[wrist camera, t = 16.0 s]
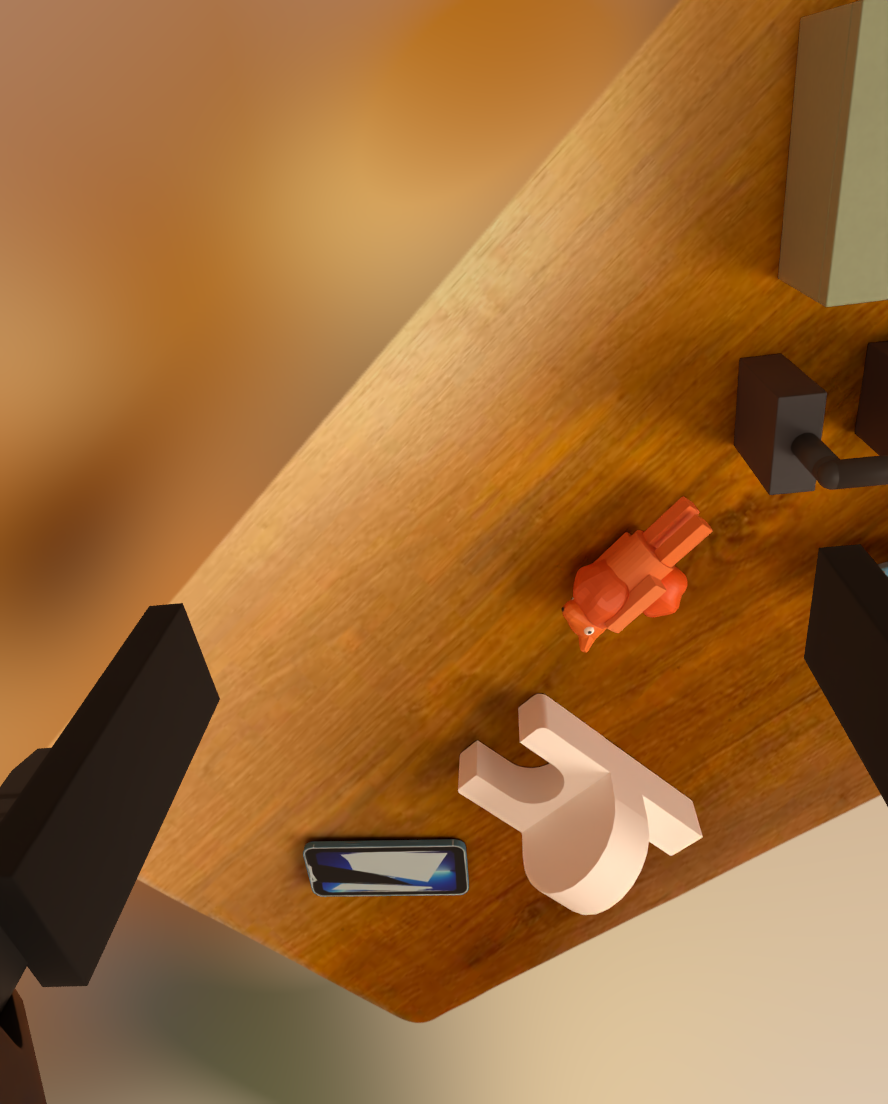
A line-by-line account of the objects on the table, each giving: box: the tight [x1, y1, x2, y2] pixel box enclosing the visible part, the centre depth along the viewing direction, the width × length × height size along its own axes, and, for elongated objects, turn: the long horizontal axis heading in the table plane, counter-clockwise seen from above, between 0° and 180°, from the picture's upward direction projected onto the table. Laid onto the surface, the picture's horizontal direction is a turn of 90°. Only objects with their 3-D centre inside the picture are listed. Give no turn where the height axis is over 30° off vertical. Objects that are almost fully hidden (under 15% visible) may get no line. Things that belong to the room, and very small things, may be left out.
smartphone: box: [303, 839, 469, 897], centre depth 69 cm, size 7×1×15 cm
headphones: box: [734, 341, 888, 495], centre depth 40 cm, size 6×10×11 cm, turn 98°
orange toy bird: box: [562, 496, 713, 652], centre depth 49 cm, size 5×8×12 cm
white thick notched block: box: [458, 694, 703, 915], centre depth 58 cm, size 18×10×11 cm, turn 50°
